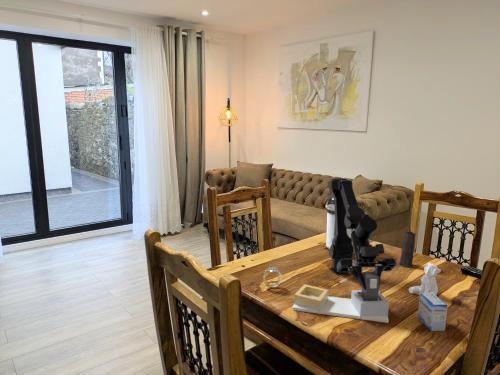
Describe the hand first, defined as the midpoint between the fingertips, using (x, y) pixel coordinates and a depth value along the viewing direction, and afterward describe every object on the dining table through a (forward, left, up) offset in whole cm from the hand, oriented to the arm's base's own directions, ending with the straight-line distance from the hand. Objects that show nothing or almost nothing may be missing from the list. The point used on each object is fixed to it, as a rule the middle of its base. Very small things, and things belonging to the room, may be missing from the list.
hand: (371, 289), depth 118 cm
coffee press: (-54, +28, -9) cm, 61 cm away
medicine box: (+12, +13, -9) cm, 20 cm away
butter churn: (-26, +43, -9) cm, 51 cm away
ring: (-30, -21, -9) cm, 37 cm away
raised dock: (-1, 0, -8) cm, 9 cm away
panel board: (-7, -7, -8) cm, 13 cm away
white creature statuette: (-3, +28, -9) cm, 30 cm away
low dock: (-13, -14, -8) cm, 21 cm away
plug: (-1, 0, -4) cm, 5 cm away
